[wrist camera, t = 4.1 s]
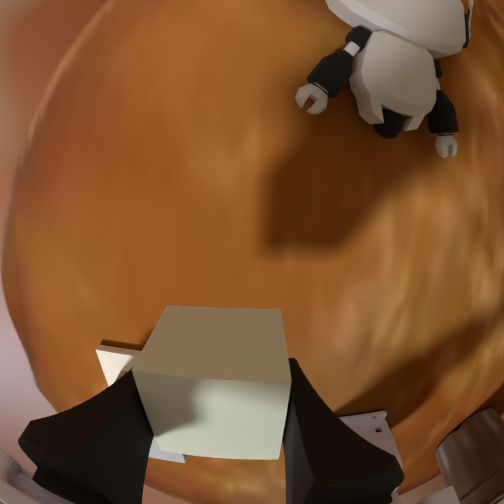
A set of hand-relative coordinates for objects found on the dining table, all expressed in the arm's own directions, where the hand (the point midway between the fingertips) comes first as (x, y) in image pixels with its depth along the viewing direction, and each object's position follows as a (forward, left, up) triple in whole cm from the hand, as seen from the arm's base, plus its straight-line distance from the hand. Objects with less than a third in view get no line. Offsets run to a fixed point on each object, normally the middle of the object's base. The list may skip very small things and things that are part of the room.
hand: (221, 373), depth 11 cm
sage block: (0, 0, -2) cm, 2 cm away
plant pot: (-36, +27, -9) cm, 46 cm away
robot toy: (-10, -18, -9) cm, 22 cm away
